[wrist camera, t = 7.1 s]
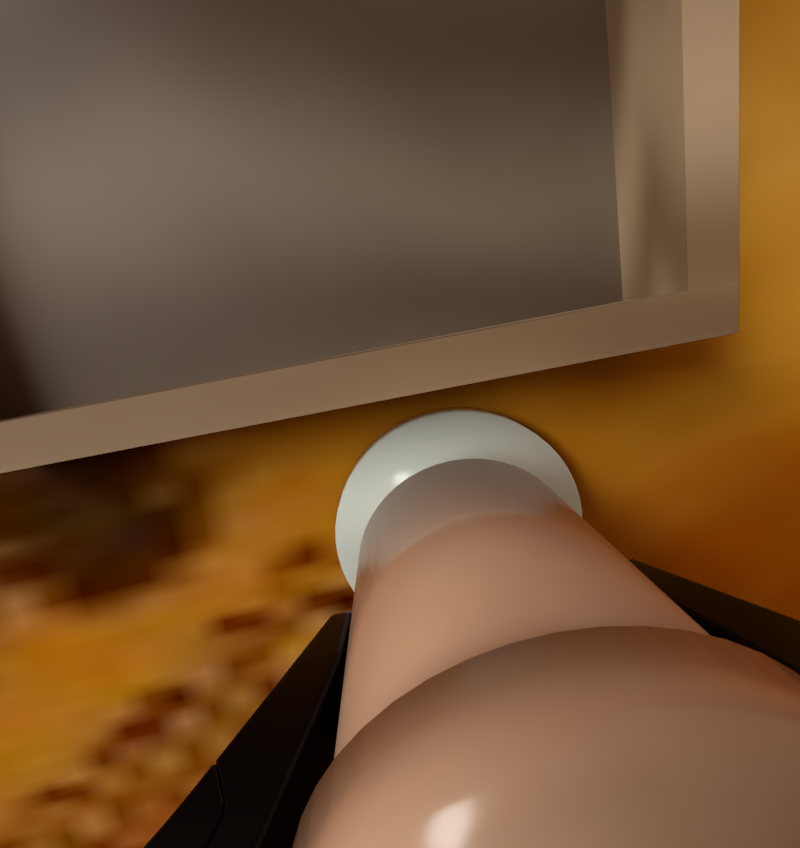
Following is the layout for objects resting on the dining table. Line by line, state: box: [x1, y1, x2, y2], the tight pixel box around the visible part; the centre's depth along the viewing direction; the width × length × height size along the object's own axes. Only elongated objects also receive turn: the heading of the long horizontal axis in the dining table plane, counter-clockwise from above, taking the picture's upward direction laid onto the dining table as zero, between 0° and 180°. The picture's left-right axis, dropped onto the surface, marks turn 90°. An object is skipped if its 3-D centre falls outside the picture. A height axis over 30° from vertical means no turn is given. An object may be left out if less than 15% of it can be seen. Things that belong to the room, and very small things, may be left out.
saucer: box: [335, 407, 582, 591], centre depth 12 cm, size 7×7×1 cm
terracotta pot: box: [292, 459, 800, 848], centre depth 6 cm, size 6×6×7 cm
